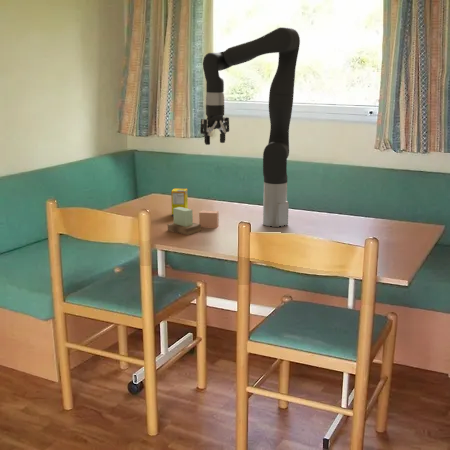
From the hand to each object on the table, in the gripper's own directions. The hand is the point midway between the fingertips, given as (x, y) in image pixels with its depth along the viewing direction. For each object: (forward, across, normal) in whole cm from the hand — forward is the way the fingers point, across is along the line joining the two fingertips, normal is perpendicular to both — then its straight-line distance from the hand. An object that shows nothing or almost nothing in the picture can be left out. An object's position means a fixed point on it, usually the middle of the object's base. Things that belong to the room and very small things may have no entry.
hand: (215, 143), depth 262 cm
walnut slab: (+31, -26, -10) cm, 42 cm away
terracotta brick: (+30, -15, -12) cm, 36 cm away
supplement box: (+30, -11, +10) cm, 34 cm away
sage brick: (+28, -26, -9) cm, 39 cm away
